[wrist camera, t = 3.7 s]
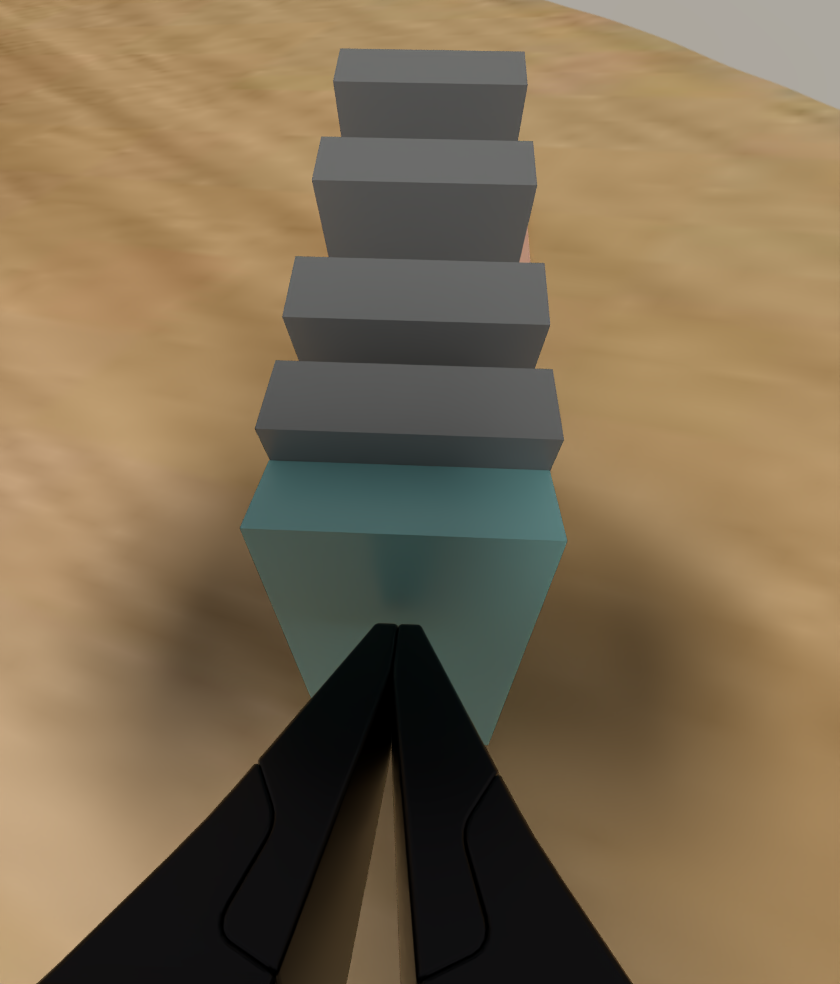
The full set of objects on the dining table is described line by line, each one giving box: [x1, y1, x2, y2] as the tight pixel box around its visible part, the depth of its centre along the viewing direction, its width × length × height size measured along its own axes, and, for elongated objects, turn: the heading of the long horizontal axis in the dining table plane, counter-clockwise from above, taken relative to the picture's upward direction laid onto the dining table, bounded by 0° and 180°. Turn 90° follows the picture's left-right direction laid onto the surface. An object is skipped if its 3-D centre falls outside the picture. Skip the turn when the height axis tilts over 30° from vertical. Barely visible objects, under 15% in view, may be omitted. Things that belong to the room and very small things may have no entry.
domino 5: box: [240, 460, 567, 745], centre depth 11 cm, size 2×5×10 cm, turn 87°
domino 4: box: [255, 360, 564, 470], centre depth 12 cm, size 2×5×10 cm, turn 87°
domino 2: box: [312, 137, 537, 262], centre depth 15 cm, size 2×5×10 cm, turn 87°
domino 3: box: [282, 256, 550, 369], centre depth 13 cm, size 2×5×10 cm, turn 87°
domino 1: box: [333, 49, 528, 141], centre depth 16 cm, size 2×5×10 cm, turn 87°
